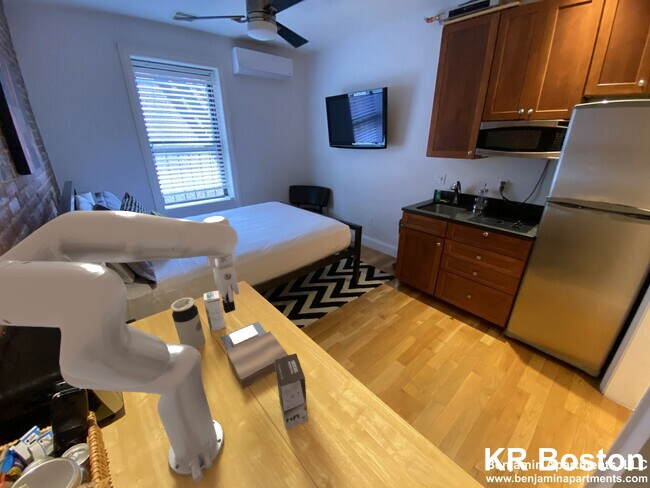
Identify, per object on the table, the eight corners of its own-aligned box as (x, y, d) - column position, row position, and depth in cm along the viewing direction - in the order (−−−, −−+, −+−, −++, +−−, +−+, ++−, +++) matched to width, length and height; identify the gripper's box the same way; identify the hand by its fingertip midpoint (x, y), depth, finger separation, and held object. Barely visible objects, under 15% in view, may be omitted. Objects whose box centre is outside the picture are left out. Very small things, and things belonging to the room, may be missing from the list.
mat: (270, 339, 102) (270, 338, 102) (230, 357, 94) (230, 357, 94) (258, 321, 111) (257, 321, 111) (220, 337, 103) (220, 337, 103)
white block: (252, 324, 106) (252, 329, 106) (229, 334, 101) (229, 339, 102) (258, 333, 101) (258, 338, 102) (234, 344, 96) (235, 349, 97)
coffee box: (308, 421, 73) (306, 379, 67) (285, 430, 71) (280, 387, 65) (299, 392, 81) (296, 352, 75) (278, 400, 79) (273, 359, 73)
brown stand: (289, 363, 91) (288, 354, 90) (242, 388, 83) (241, 379, 81) (271, 339, 102) (270, 331, 100) (228, 359, 93) (226, 350, 92)
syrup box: (209, 323, 110) (202, 293, 105) (224, 319, 113) (218, 289, 107) (210, 332, 106) (203, 301, 100) (226, 327, 108) (219, 297, 102)
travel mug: (176, 350, 98) (164, 309, 90) (191, 334, 105) (181, 295, 97) (196, 353, 96) (184, 312, 88) (209, 338, 103) (200, 298, 96)
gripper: (241, 264, 77) (249, 318, 83) (226, 247, 88) (234, 296, 95) (214, 271, 73) (224, 327, 79) (202, 253, 84) (212, 303, 91)
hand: (229, 310), depth 87 cm, fingers closed
